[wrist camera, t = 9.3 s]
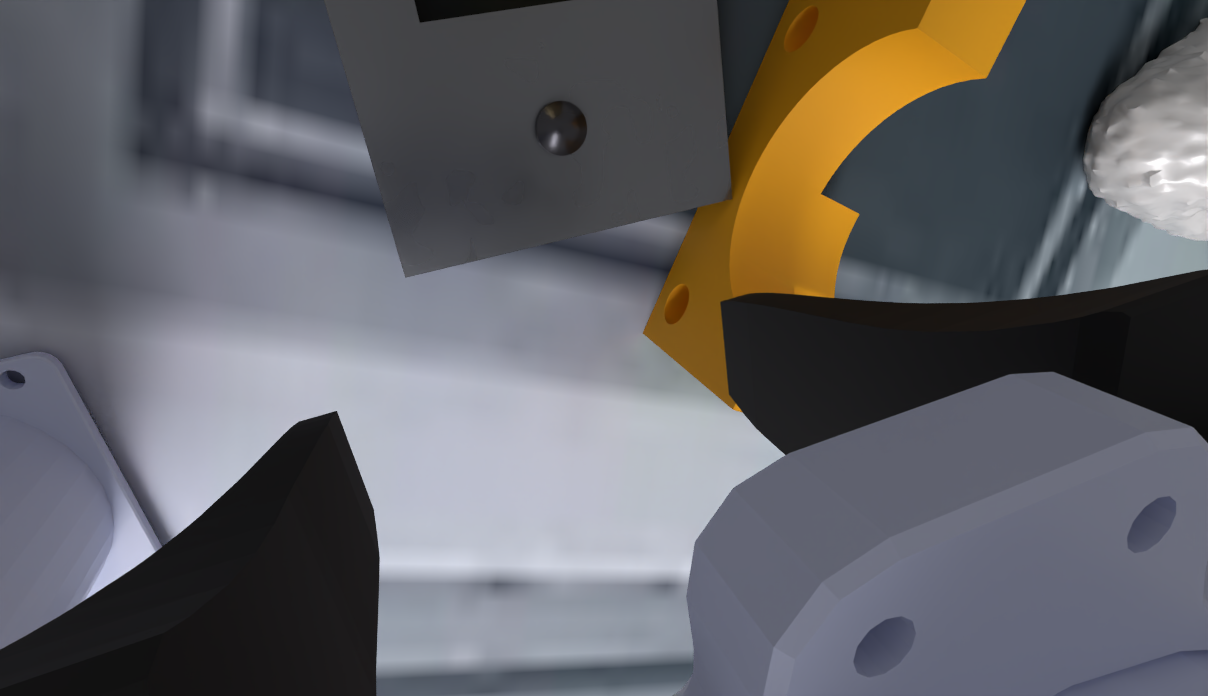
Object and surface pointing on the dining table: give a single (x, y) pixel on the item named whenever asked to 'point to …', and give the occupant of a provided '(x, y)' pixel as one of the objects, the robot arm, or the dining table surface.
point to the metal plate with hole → (534, 119)
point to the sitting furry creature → (1157, 141)
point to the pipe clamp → (810, 154)
